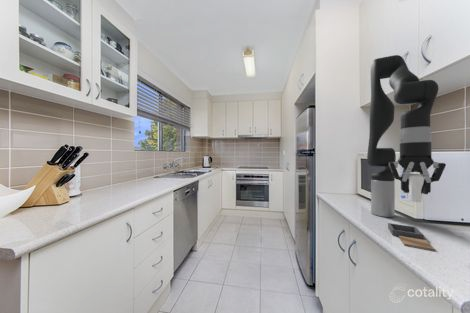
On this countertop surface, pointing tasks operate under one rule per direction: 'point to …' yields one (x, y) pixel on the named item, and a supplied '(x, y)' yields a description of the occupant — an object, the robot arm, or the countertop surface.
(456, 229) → the countertop surface
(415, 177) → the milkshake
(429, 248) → the pad
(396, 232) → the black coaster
